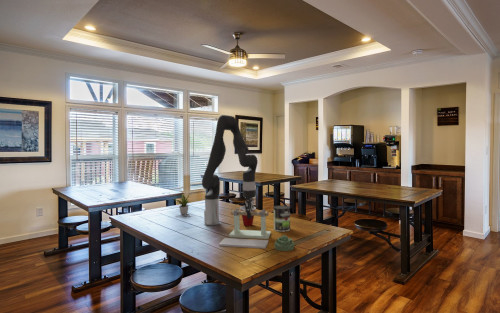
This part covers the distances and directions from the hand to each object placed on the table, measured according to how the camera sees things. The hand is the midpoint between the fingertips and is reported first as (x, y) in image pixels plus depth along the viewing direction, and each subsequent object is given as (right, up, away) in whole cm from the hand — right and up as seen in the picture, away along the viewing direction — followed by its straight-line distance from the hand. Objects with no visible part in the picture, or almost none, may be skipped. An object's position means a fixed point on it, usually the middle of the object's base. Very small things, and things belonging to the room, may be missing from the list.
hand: (249, 217), depth 175 cm
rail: (0, +3, 0) cm, 3 cm away
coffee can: (+20, -10, +11) cm, 25 cm away
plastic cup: (-1, -10, +22) cm, 24 cm away
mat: (-3, -11, -14) cm, 18 cm away
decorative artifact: (+18, -11, -21) cm, 30 cm away
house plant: (-51, -9, +59) cm, 79 cm away
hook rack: (0, -10, 0) cm, 10 cm away
